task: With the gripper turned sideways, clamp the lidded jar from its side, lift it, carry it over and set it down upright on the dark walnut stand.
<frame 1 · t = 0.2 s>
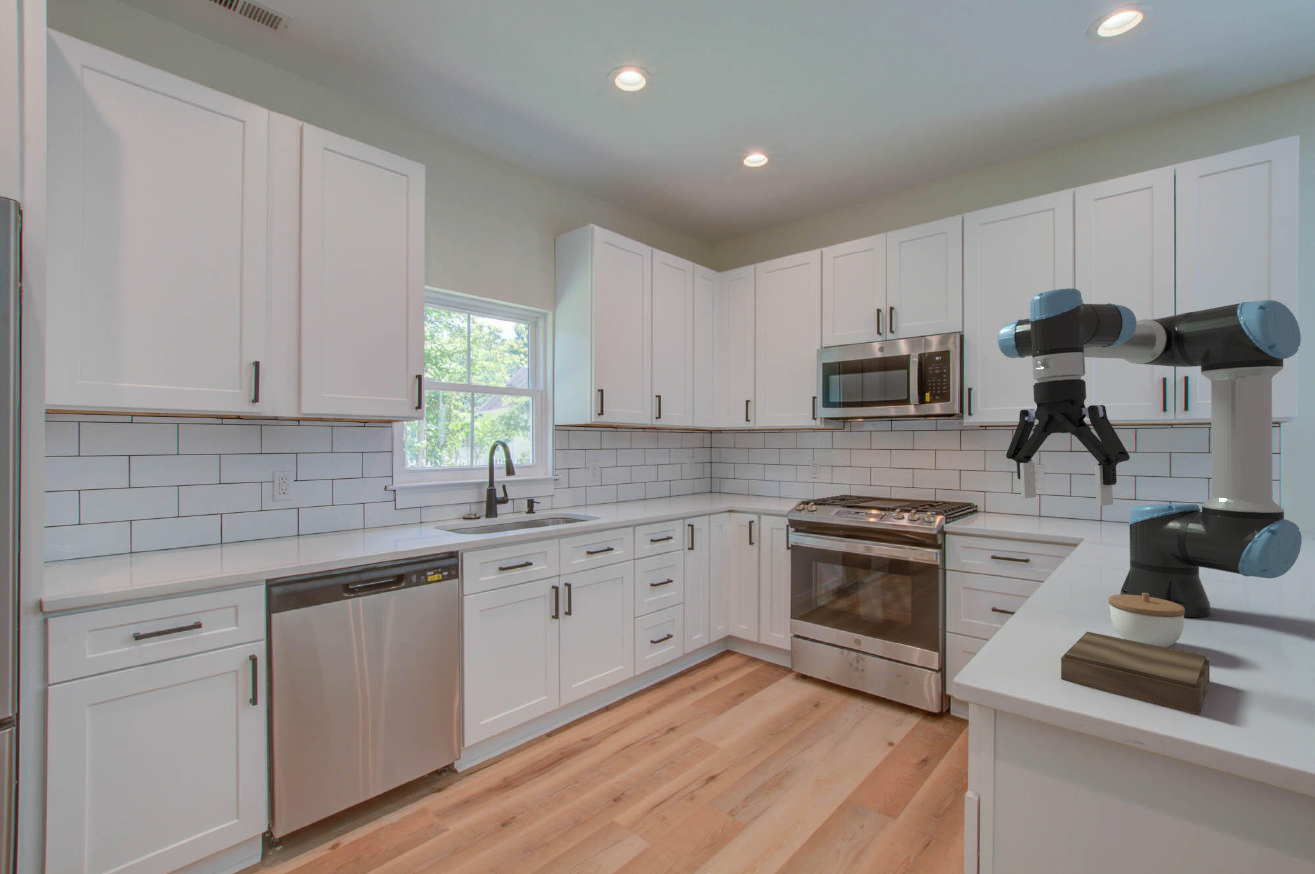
hand: (1064, 501, 101), 27 cm above the counter, tool pointing down, fingers open, 13 cm apart
lidded jar: (1145, 645, 107), on the counter
walnut stand: (1134, 679, 91), on the counter
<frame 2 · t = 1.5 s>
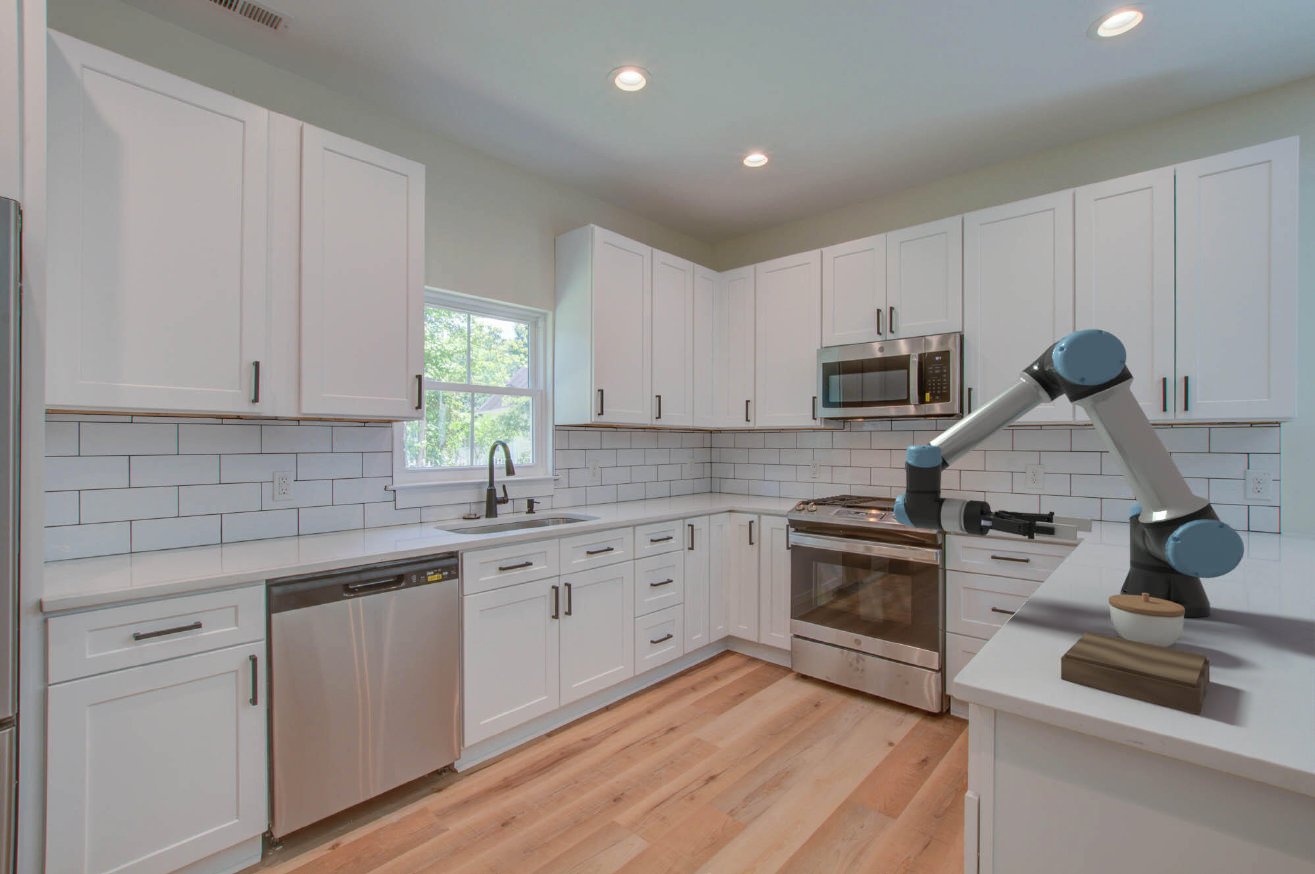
hand: (1084, 529, 113), 20 cm above the counter, tool horizontal, fingers open, 13 cm apart
nothing on the counter moved.
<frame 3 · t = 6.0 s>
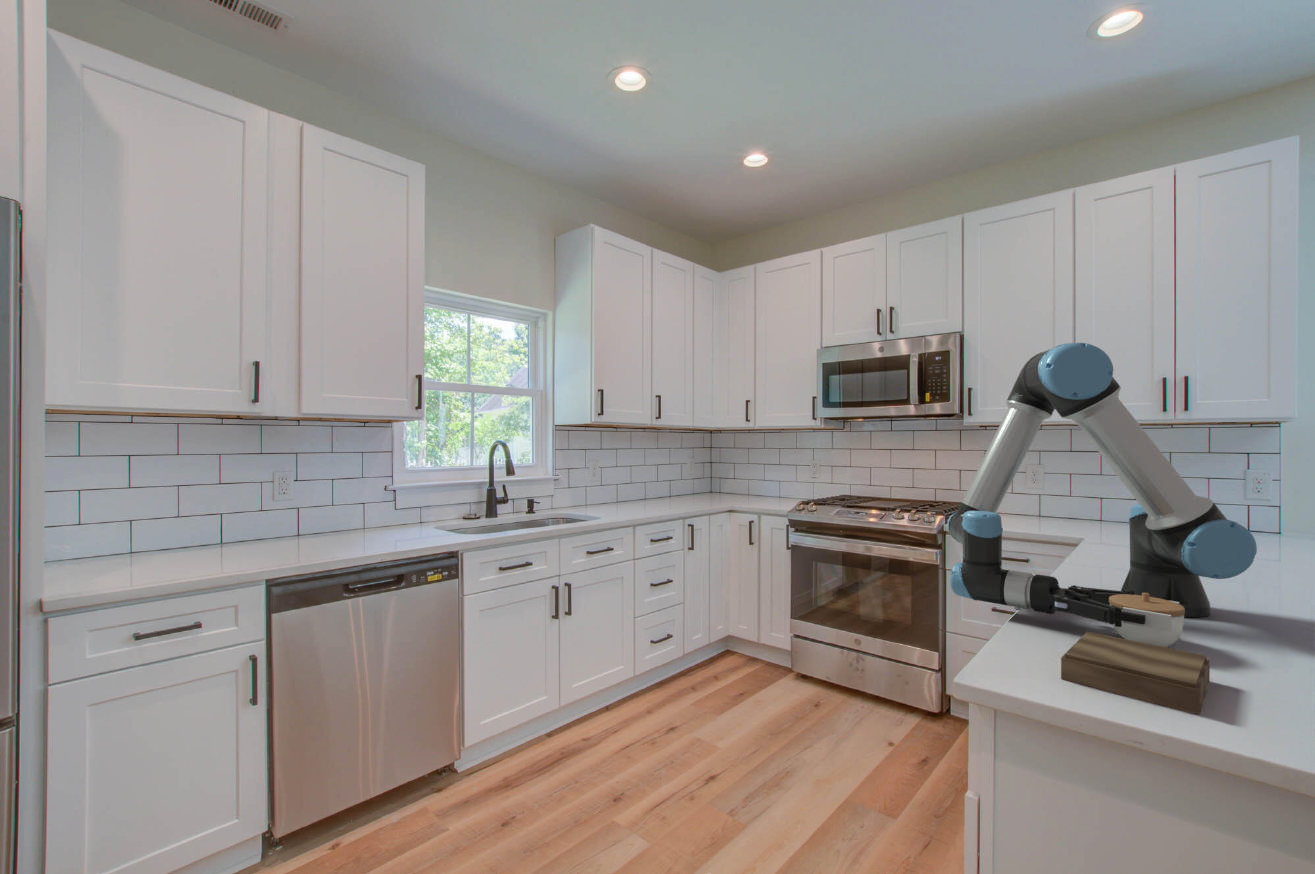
hand: (1175, 616, 103), 6 cm above the counter, tool horizontal, fingers closed on lidded jar, 11 cm apart
lidded jar: (1145, 645, 107), on the counter, touching gripper
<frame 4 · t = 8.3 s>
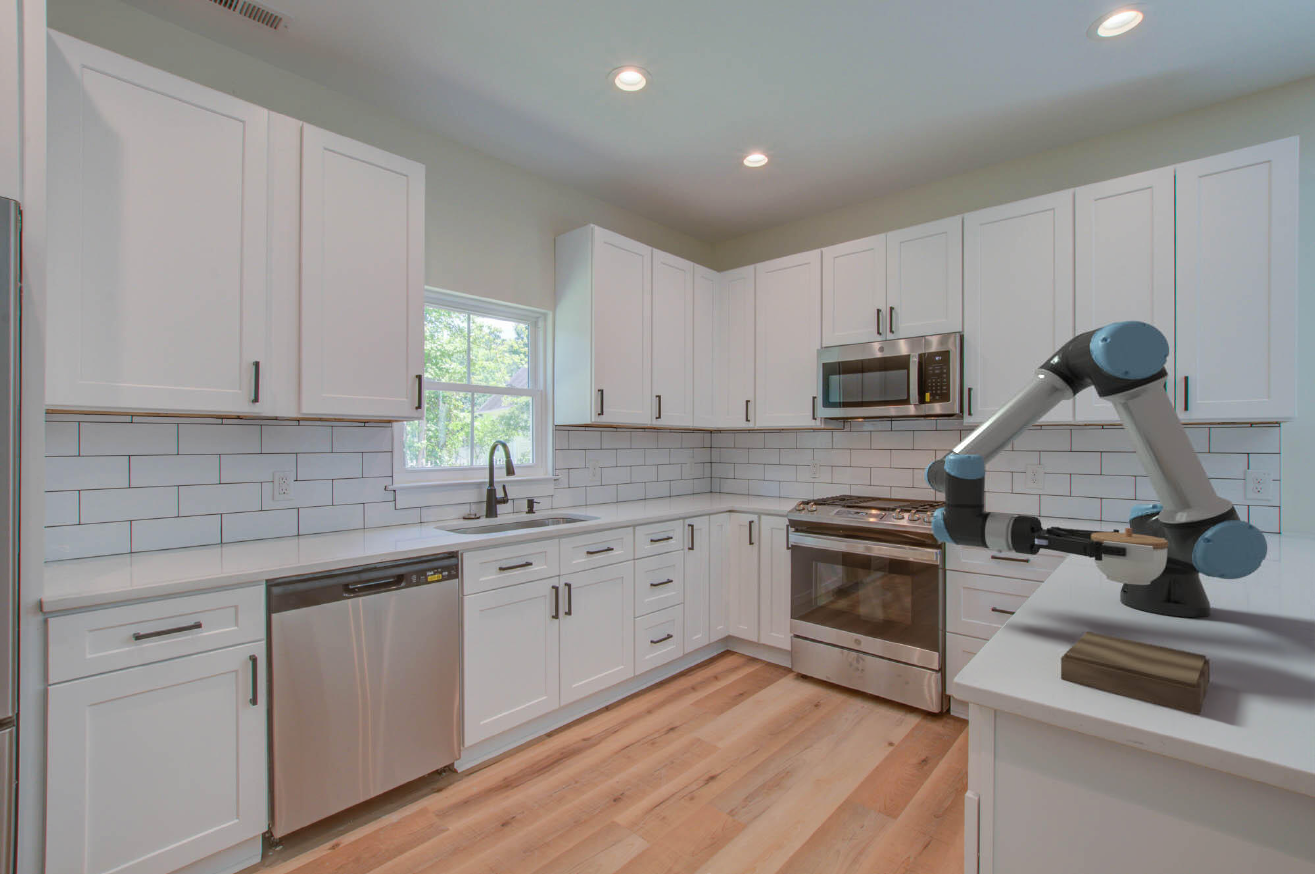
hand: (1158, 550, 100), 19 cm above the counter, tool horizontal, fingers closed on lidded jar, 11 cm apart
lidded jar: (1128, 581, 103), point 12 cm above the counter, touching gripper
when the fingers open (11 cm above the counter, at t = 11.0 s): lidded jar drops 1 cm, resting on walnut stand.
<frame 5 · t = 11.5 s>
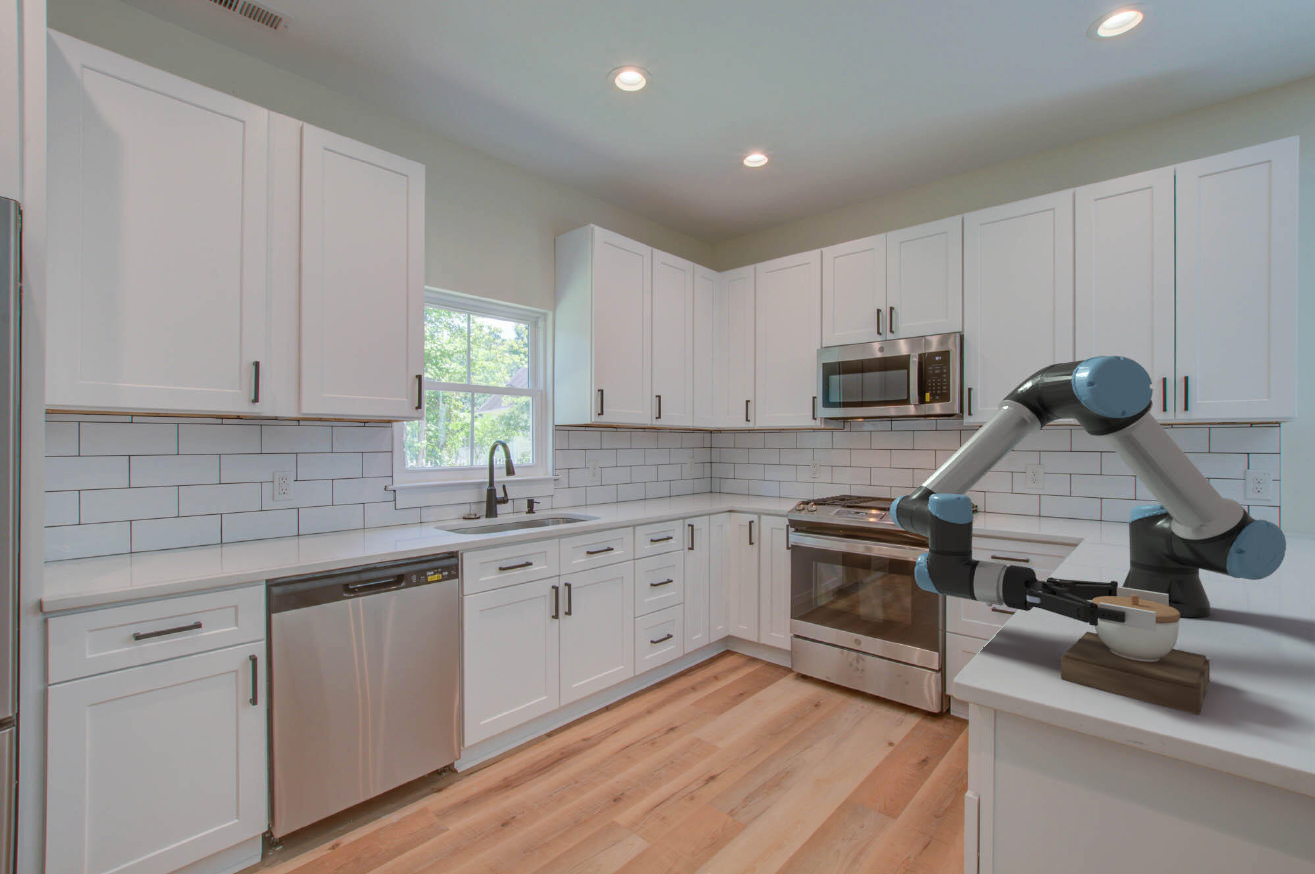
hand: (1162, 611, 89), 12 cm above the counter, tool horizontal, fingers open, 13 cm apart
lidded jar: (1134, 655, 91), point 4 cm above the counter, touching walnut stand
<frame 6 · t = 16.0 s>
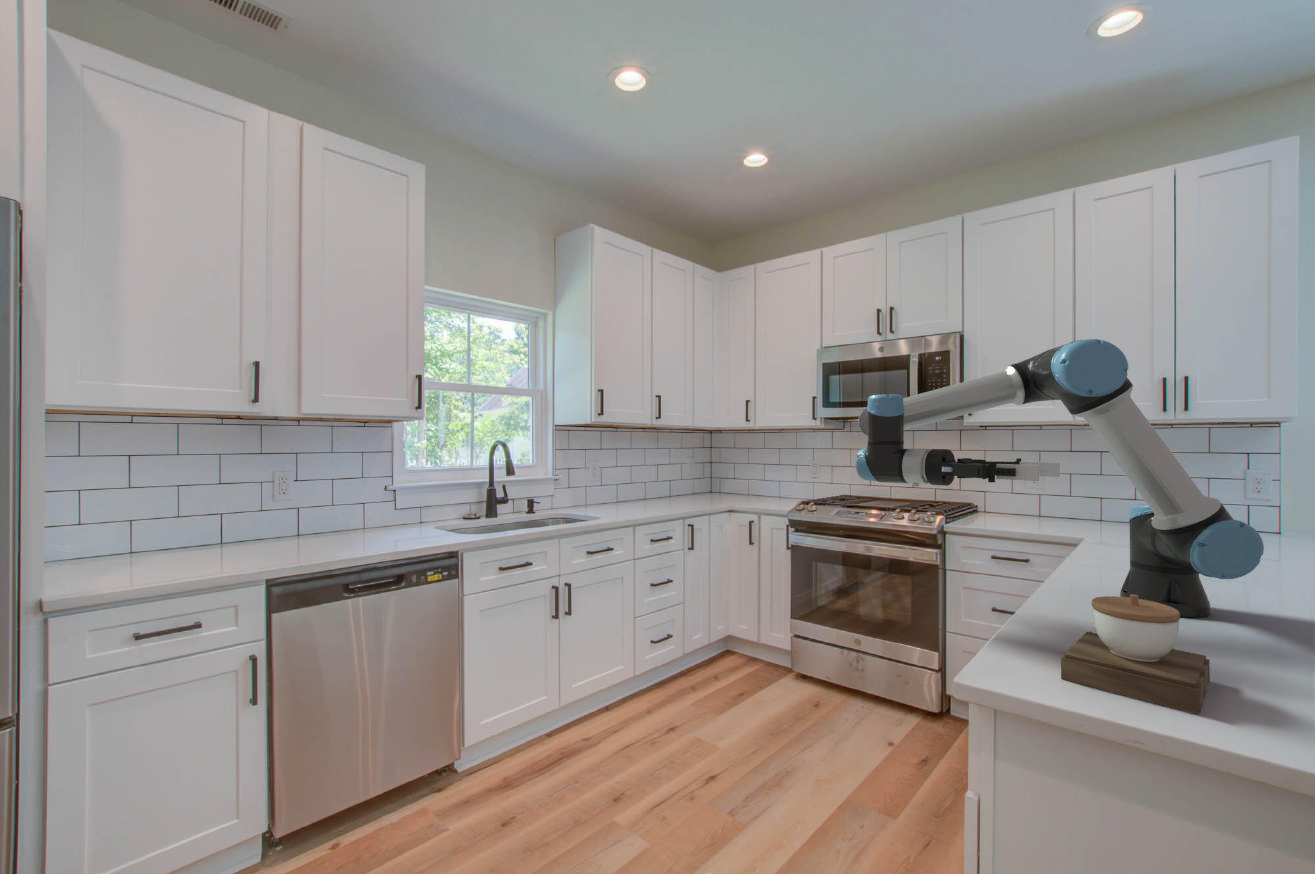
hand: (1049, 471, 105), 32 cm above the counter, tool horizontal, fingers open, 13 cm apart
nothing on the counter moved.
at the end: lidded jar inside the target area on the walnut stand (0.1 cm from its centre), point 3.8 cm above the walnut stand's base; lidded jar tilted 0°; the gripper is holding nothing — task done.
